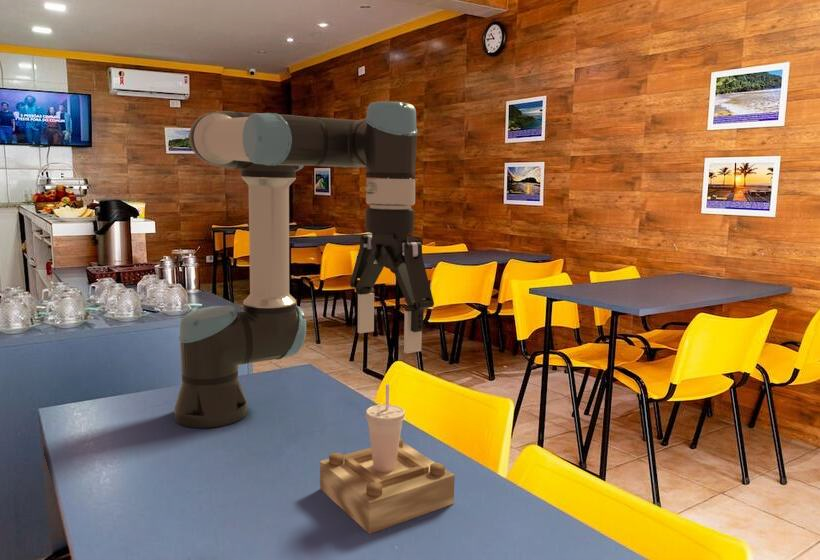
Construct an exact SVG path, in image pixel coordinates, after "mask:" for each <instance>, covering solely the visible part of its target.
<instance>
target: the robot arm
mask: <svg viewBox="0 0 820 560" xmlns="http://www.w3.org/2000/svg"><path fill="white" fill-rule="evenodd" d="M188 133H189V135H188V140H189V144H190V145H189V146H190V147H191V150H192V151H193V153H194V154H195V155H196V157H197V158H198V159H199V160H201V161H203V162H204V163H206V164H208V165H210V166H214V167H219V168H223V169H235V170H237V169H238V170H240V178H241V179H242V180H243V181H244V182H245V183H246V185H247V187H248V232H249V233H248V237H249V238H248V239H249V240H248V243H249V244H248V245H249V295H248V296H247V297H246V298H244V300H243V302H242V303H243V304H242V305H243V306H242V307H243V308H242V309H243V310H240V311H238V310H237V309H236V307H235V306H232V305H227V304H226V305H225V304H224V305H223V304H222V305H211V306H206V307H205V306H204V307H202V308H199V309H195V310H192V311H190V312H188V313H187V314H185V315H184V316H183V317H182V318H181V320H180V324H179V337H178V340H179V342H180V343H179V344H180V346H179V347H180V348H179V349H180V366H181V367H180V368H181V385H180V388H179V390H178V391H179V392H178V395H177V399H176V402H175V404H174V421H176V423H177V424H179V425H182V426H184V427H190V428H196V429H198V428H200V429H201V428H202V429H203V428H204V429H205V428H208V429H209V428H218V427H223V426H227V425H230V424H233V423H236V422H238V421H241V420H242V419H243V418H245V416H246V415H247V414H248V401H247V398H246V395H245V393H244V391H243V387H242V385H241V382H240V379H239V366H241V365H247V364H254V363H258V362H260V363H261V362H265V361H273V360H281V359H285V358H288V357H292V356H295V355H297V354H298V353H299V352H300V351H301V349H302V348H303V346H304V344H305V339H306V337H307V320H306V319H305V318H306V317H305V313H304V310H303V309H302V308H301V307H300V306H298V305H297V300H296V299H295V297H294V296H292V294H290V186H291V185H292V184H293V183H294V182H295V181H296V180H297V172H298V171H300V170H302V169H303V168H304V166H306V167H308V166H310V167H311V166H312V167H331V168H332V167H336V168H345V169H347V168H348V169H349V168H350V169H358V168H365V178H366V183H365V184H366V185H365V187H364V188H365V203H366V204H367V205H369V207H367V208H366V210H365V231H366V232H367V233H369V234H360V240H359V249H358V252H357V257H356V259H355V263H354V265H353V271H352V275H351V278H350V281H349V285H350V288H353V289H354V290H355V293H356V294H357V333H358V334H365V333H372V332H373V333H374V332H375V293H373V292H375V289H374V287H375V284H376V283H377V280H378V278H379V277H380V275H381V273H382V271H383V270H384V268H386V269H389V270H390V272H391V273H392V274H394V276H395V278H396V281H397V283H398V286H399V289H400V291H401V293H402V295H403V297H404V300H405V303H406V304H407V305H406V307H405V308H404V326H403V329H404V331H403V353H404V354H411V353H417V352H422V344H423V343H422V341H423V340H422V339H423V330H424V315H425V314H424V313H425V310H426V309H430V308H433V307H434V305H435V301H434V297H433V293H432V290H431V285H430V283H429V282H430V281H429V278H428V274H427V270H426V267H425V262H424V259H423V245H422V243H421V242H420V241H413V242H412V241H411V242H409V235H410V234H413V232H414V231H415V212H416V211H415V210H414V209H413V208H412V206H414V205H415V204H416V171H417V170H416V168H417V167H416V164H417V143H418V142H417V139H418V133H419V132H418V128H417V111H416V108H415V106H414V105H413V104H411V103H409V102H402V101H374V102H370V103H369V105H368V106H367V108H366V116H365V118H364V119H347V118H346V119H345V118H331V117H319V116H317V117H316V116H303V115H294V114H283V113H282V114H280V113H276V112H263V113H262V112H261V113H259V112H244V111H243V112H241V111H233V110H232V111H231V110H217V111H214V112H213V111H211V112H208V113H206V114H203V115H200V116H199V117H198V118H196V120H195V121H194V122H193V123H192V125H191V127H190V130H189V132H188Z"/></svg>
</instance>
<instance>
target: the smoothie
mask: <svg viewBox="0 0 820 560" xmlns="http://www.w3.org/2000/svg"><path fill="white" fill-rule="evenodd" d="M405 414H406V413H405V409H403V408H402V407H401V406H398V405H394V404H390V384H389V383H386V384H385V404H383V403H382V404H375V405H372V406H370V407H368V408H366V410H365V419H366V420H367V425H368V432H369V433H368V434H369V440H370V448H371V451H372V460H373V468H374V469H375V470H376V471H379V472H390V471H393V470H394V469H395V468H396V461H397V454H398V448H399V441H400V438H401V432H402V428H403V427H402V426H403V421H404V420H405V418H406V415H405Z"/></svg>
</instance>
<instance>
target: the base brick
mask: <svg viewBox="0 0 820 560" xmlns="http://www.w3.org/2000/svg"><path fill="white" fill-rule="evenodd" d="M455 478H456V477H455V474H454V473H452V472H451V471H449V470H448V469H446V466H445V465H444V464H443V463H440V462H435V461H433V460H432V459H430V458H429V457H427V456H426V455H424V454H422V453H421V452H420V451H417V450H416V449H415V448H413V447H412V446H410V445H408V444H407V443H406V442H404V439H403V438H402V437H400V441H399V448H398V454H397V461H396V468H395V469H394V470H393V471H390V472H379V471H376V470H375V469H374V468H373V460H372V451H371V447H368V448H363V449H360V450H356V451H353V452H349V453H345V454H343V453H340V452H334V453H331V454H329V456H328V458H327V459H323V460H320V461H319V489H320V491H322V492H323V493H324V494H325V495H326V496H327V497H328V498H329V499H331V501H333V503H335V504H336V505H337V506H339V508H340V509H341V510H343V512H345V513H346V514H347V515H348V516H349V517H350V518H351V519H352V520H353V521H355V523H357V524H358V525H359V526H360V527H361V528H362V529H363V530H364V531H365V532H367V533H368V534H369V535H371V534H374V533H376V532H380V531H383V530H385V529H387V528H391V527H393V526H396V525H398V524H401V523H403V522H404V523H405V522H407V521H409V520H410V521H411V520H412V519H416V518H418V517H421V516H424V515H426V514H429V513H432V512H434V511H438V510H440V509H443V508H446V507H447V506H452V505H454V504H455V502H454V501H455V500H454V499H455Z"/></svg>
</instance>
